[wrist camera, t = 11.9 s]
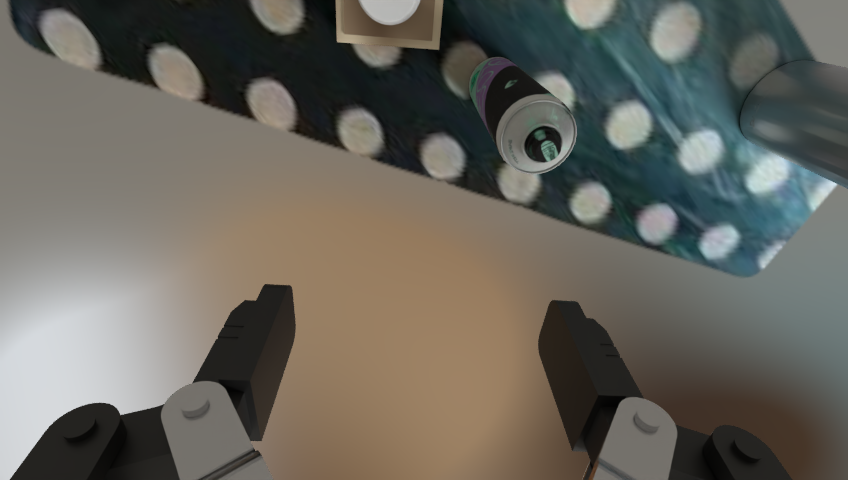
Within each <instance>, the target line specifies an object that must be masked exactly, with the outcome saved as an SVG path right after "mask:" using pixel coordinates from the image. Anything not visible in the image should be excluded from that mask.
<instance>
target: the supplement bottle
mask: <svg viewBox="0 0 848 480" xmlns="http://www.w3.org/2000/svg"><path fill="white" fill-rule="evenodd" d="M358 1H359V3H360V5H361V7H362V9H363V10H364V11H365V13H366V14H367V15H368V16H369V17H370V18H372V19H373V20H375V21H376V22H378V23H381V24H384V25H396V24H400V23H402V22H404V21H406V20H407V19H409V18H410V17H411V16H412V15H413V14H414V13H415V11H416V9H417V8H418V6H419V3H420V0H358Z"/></svg>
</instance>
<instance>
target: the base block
mask: <svg viewBox="0 0 848 480" xmlns="http://www.w3.org/2000/svg"><path fill="white" fill-rule="evenodd" d="M442 9H443V0H420V3H419V6H418V8H417V9H416V11H415V13H414V14H413V15H412V16H411V17H410V18H409V19H407V20H406V21H404V22H402V23H400V24H396V25H384V24H381V23H378V22H376V21H375V20H373V19H372V18H370V17H369V16H368V15H367V14H366V13H365V11H364V10H363V9H362V7H361V5H360V3H359V1H358V0H336V25H337V42H343V43H356V44H369V45H382V46H395V47H408V48H421V49H434V50H439V44H440V32H441V21H442Z"/></svg>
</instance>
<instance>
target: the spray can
mask: <svg viewBox="0 0 848 480" xmlns="http://www.w3.org/2000/svg"><path fill="white" fill-rule="evenodd" d="M469 92H470V96H471V99H472V101H473V103H474V105H475V106H476V108H477V110H478V112H479V114H480V116H481V118H482V120H483V122H484V124H485V126H486V128H487V129H488V131H489V133H490V135H491V137H492V139H493V141H494V143H495V145H496V147H497V149H498V150H499V152H500V154H501V156H502V157H503V159H504V160H505V161H506V162H507V163H508V164H509V165H510V166H511V167H512V168H514V169H515V170H517V171H519V172H522V173H526V174H540V173H544V172H547V171H550V170H552V169H554V168H555V167H557V166H558V165H560V164H561V163H562V162H563V161H564V160H565V159H566V158H567V157H568V155H569V154H570V152H571V151H572V149H573V146H574V144H575V141H576V135H577V128H576V123H575V119H574V117H573V115H572V114H571V112H570V110H569V109H568V108H567V106H566V105H565V104H564V103H563V102H561V101H560V100H559V99H558V98H556V97H555V96H554V95H553V94H551V93H550V92H549V91H548V90H546V89H545V88H544V87H543V86H541V85H540V84H539V83H538V82H536V81H535V80H534V79H533V78H531V77H530V76H529V75H528V74H526V73H525V72H524V71H523V70H521V69H520V68H519V67H518V66H517V65H515V64H514V63H513V62H511V61H510V60H508V59H505V58H502V57H492V58H488V59H486V60H484V61H483V62H481V63H480V64H479V65H478V66H477V67H476V68H475V69H474V71H473V72H472V75H471V77H470V81H469Z"/></svg>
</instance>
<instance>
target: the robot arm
mask: <svg viewBox="0 0 848 480" xmlns="http://www.w3.org/2000/svg"><path fill="white" fill-rule="evenodd" d="M740 127H741V130H742V133H743V135H744V136H745V137H746V139H747V140H748V141H750V142H752V143H753V144H755V145H757V146H759V147H761V148H764V149H766V150H768V151H770V152H772V153H774V154H776V155H778V156H780V157H782V158H784V159H786V160H788V161H790V162H792V163H795V164H797V165H799V166H801V167H803V168H805V169H807V170H809V171H811V172H814V173H816V174H818V175H820V176H822V177H824V178H826V179H828V180H830V181H833V182H835V183H837V184H839V185H841V186H843V187H845V188H847V189H848V68H846V67H841V66H836V65H830V64H826V63H821V62H816V61H809V60H800V61H793V62H790V63H787V64H784V65H782V66H781V67H779V68H777V69H775V70H773V71H772V72H770V73H769V74H768V75H766V76H765V77H764V78H763V79H762V80H761V81H760V82H759V83H758V84H757V85H756V86H755V87H754V88H753V90H752V91H751V92H750V94H749V95H748V97H747V99H746V101H745V103H744V105H743V108H742V111H741V117H740ZM295 326H296V324H295V314H294V302H293V293H292V287H291V286H290V285H270V284H265V285H264V286H263V288H262V290H261V292H260V294H259V296H258V298H257V300H256V301H248V300H245V301H244V302H242V303H241V304H240V305H239V306H238V307H236V308H235V309H234V310H233V311H232V312H231V313H230V315H229V317H228V319H227V321H226V323H225V325H224V328H222V330H221V332H220V333H219V335H218V339H216V341H215V343H214V345H213V346H212V348H211V350H210V352H209V354H208V356H207V358H206V359H205V361H204V363H203V365H202V367H201V368H200V371H199V372H198V374H197V376H196V378H195V379H194V381H193V383H192V384H189V385H187V386H185V387H182V388H181V389H179V390H178V391H176V392H175V393H174V394H172V396H170V398H169V399H168V400H167V401H166V403H165V404H163V405H161V406H158V407H155V408H151V409H146V410H142V411H137V412H133V413H128V414H124V415H120V413H119V411H118V410H117V408H115V407H114V406H113V405H110V404H106V403H93V404H88V405H84V406H81V407H78V408H76V409H73V410H72V411H70V412H68V413H66V414H64V415H63V416H61V417H60V418H59V419H57V420H56V421H55V422H54V423H53V424H52V425H51V426H50V427H49V428H48V429H47V431H45V433H44V434H43V435H42V437H41V438H40V440H39V441H38V442H37V444H36V445H35V446H34V448H33V449H32V450H31V452H30V453H29V454H28V456H27V457H26V459H25V460H24V461H23V463H22V464H21V465H20V467H19V468H18V469H17V471H16V472H15V473H14V475H13V476H12V478H11V479H10V480H273V478H272V476H271V474H270V471H269V469H268V467H267V465H266V463H265V461H264V459H263V457H262V455H261V454H260V452H259V451H255V449H254V448H253V446H252V444H251V441H262V438H263V435H264V432H265V429H266V426H267V423H268V419H269V416H270V413H271V410H272V407H273V404H274V401H275V398H276V395H277V392H278V389H279V386H280V382H281V380H282V377H283V373H284V370H285V367H286V364H287V361H288V358H289V355H290V352H291V349H292V346H293V342H294V338H295ZM538 342H539V343H538V348H539V355H540V358H541V361H542V364H543V367H544V369H545V372H546V375H547V378H548V381H549V384H550V387H551V390H552V393H553V396H554V399H555V402H556V404H557V407H558V410H559V413H560V416H561V419H562V422H563V425H564V428H565V431H566V434H567V437H568V440H569V443H570V445H571V448H572V451H583V452H584V451H585V452H588V455H589V458H590V462H589V464H588V467H587V469H586V471H585V474H584V477H583V479H582V480H792V479H791V477H790V476H789V474H788V473H787V472H786V470H785V469H784V467H783V466H782V464H781V463H780V462H779V460H778V459H777V457H776V456H775V455H774V453H773V452H772V451H771V449H770V448H769V447H768V446H767V445H766V444H765V443H764V442H762V441H761V440H760V439H759V438H757V437H756V436H754V435H753V434H751V433H749V432H747V431H745V430H743V429H741V428H738V427H735V426H730V425H723V426H719V427H717V428H716V429H715V430H714V431H713V433H712V434H711V435H710V436H709V435H706V434H703V433H699V432H696V431H693V430H690V429H687V428H683V427H680V426H678V425H675V424H674V422H673V420H672V419H671V417H670V416H669V415H668V414H667V413H666V412H665V411H664V410H663V409H662V408H661V407H659V406H658V405H656V404H654V403H653V402H651V401H648V400H645V399H644V398H643V396H642V394H641V392H640V390H639V389H638V387H637V385H636V383H635V382H634V380H633V378H632V376H631V374H630V372H629V371H628V369H627V367H626V366H625V363H624V362H623V360H622V358H620V354H619V353H618V351H617V349H616V347H614V344H613V342H612V340H611V338H610V337H609V335H608V333H607V331H606V330H605V329H604V328H603V327H602V326H601V325H600V324H598V323H597V322H596V321H595V320H594V319H590V318H586V316H585V315H584V313H583V311H582V309H581V307H580V305H579V303H578V302H575V301H558V300H552V301H551V302H550V304H549V306H548V310H547V313H546V316H545V319H544V322H543V326H542V329H541V332H540V335H539V341H538Z"/></svg>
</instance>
